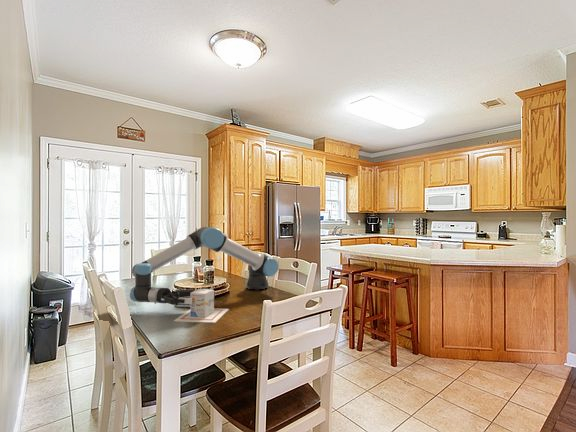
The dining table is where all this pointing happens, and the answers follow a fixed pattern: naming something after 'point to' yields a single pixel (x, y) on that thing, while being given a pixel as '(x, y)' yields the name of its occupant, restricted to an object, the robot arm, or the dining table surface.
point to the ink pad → (183, 305)
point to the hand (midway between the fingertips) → (198, 297)
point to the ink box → (202, 303)
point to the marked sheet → (209, 319)
